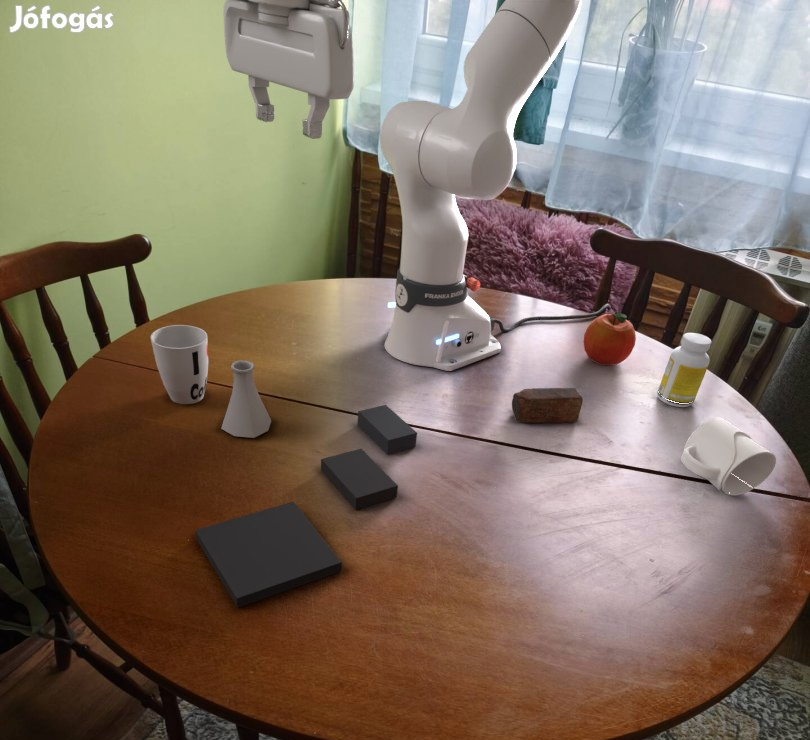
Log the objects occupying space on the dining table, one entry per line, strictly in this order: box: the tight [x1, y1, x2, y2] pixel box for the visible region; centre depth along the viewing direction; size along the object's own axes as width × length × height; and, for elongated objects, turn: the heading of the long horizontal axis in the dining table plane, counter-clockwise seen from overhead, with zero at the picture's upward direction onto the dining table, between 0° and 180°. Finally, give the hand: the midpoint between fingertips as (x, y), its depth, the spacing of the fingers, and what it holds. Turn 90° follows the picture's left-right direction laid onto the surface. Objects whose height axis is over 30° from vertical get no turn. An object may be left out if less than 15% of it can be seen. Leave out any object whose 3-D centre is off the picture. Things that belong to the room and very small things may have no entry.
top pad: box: [356, 404, 418, 455], centre depth 105 cm, size 5×9×2 cm, turn 32°
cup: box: [150, 324, 209, 405], centre depth 106 cm, size 8×8×10 cm
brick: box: [511, 387, 584, 424], centre depth 113 cm, size 11×4×5 cm, turn 100°
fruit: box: [582, 311, 637, 366], centre depth 131 cm, size 10×10×10 cm
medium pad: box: [320, 448, 399, 511], centre depth 95 cm, size 6×10×2 cm, turn 33°
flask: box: [220, 359, 272, 439], centre depth 101 cm, size 7×7×10 cm
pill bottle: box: [657, 332, 712, 408], centre depth 120 cm, size 6×6×12 cm
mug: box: [680, 417, 777, 497], centre depth 102 cm, size 12×9×8 cm
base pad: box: [194, 501, 343, 609], centre depth 83 cm, size 13×13×2 cm
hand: (288, 128), depth 85 cm, fingers open, 8 cm apart
